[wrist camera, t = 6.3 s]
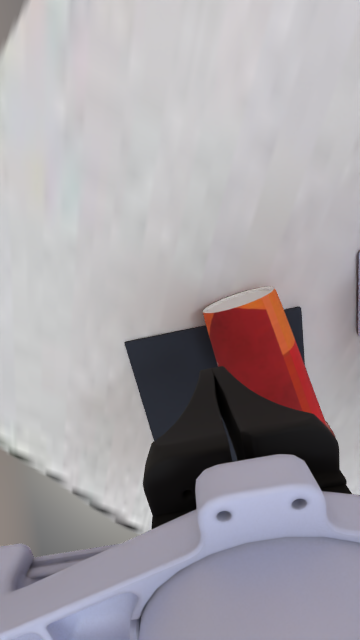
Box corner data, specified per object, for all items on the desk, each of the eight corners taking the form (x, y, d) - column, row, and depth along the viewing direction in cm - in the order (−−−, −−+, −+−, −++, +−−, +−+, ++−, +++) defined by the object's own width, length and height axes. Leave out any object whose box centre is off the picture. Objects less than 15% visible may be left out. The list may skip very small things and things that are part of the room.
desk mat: (299, 306, 22) (301, 307, 22) (309, 473, 28) (311, 476, 28) (125, 341, 23) (124, 343, 23) (172, 496, 29) (172, 499, 29)
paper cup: (175, 317, 21) (227, 454, 24) (222, 321, 14) (290, 516, 17) (246, 285, 24) (287, 412, 26) (317, 275, 17) (364, 450, 19)
